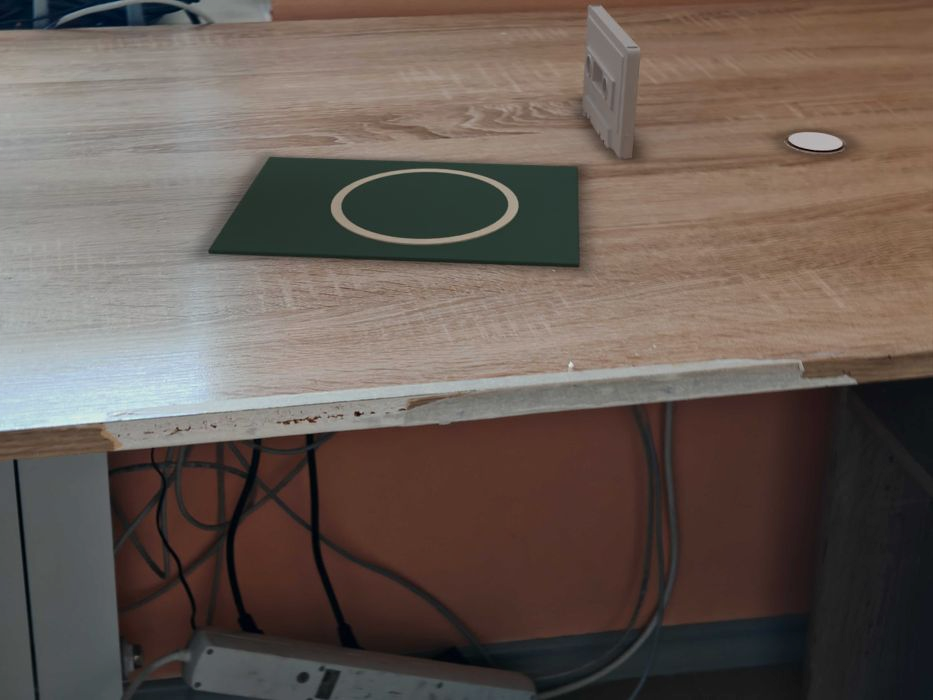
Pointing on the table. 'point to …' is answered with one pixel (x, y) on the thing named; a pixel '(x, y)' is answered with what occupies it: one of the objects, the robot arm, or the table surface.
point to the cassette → (610, 81)
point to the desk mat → (408, 212)
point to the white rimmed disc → (815, 142)
